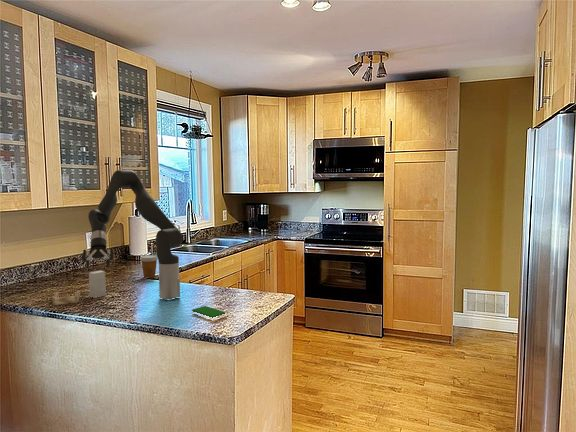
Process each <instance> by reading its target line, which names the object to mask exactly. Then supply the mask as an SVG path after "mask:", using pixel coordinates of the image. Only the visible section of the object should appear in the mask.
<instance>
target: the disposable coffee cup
mask: <svg viewBox="0 0 576 432" xmlns="http://www.w3.org/2000/svg"><path fill="white" fill-rule="evenodd" d="M139 260H140V263H141V268H142V269H141V270H142V273H143V278H145V279H152V278H153V279H154V278H156V273H157V263H158V262H157V261H158V257H157V254H145V255H142V256H141V257H140V259H139Z"/></svg>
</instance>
